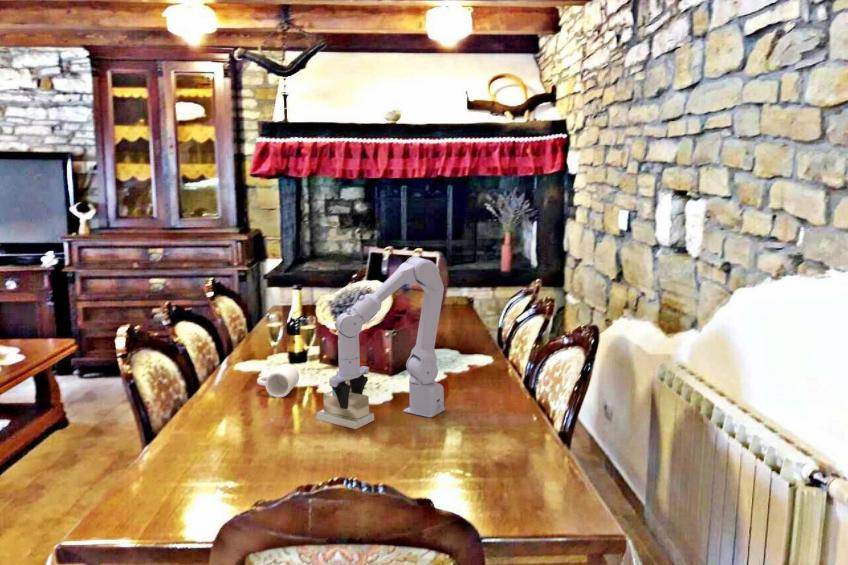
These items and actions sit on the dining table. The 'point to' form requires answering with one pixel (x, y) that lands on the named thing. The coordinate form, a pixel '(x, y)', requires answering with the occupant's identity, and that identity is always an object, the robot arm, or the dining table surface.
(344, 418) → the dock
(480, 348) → the dining table surface
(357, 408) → the thick cream slab
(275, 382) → the mug
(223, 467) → the dining table surface
